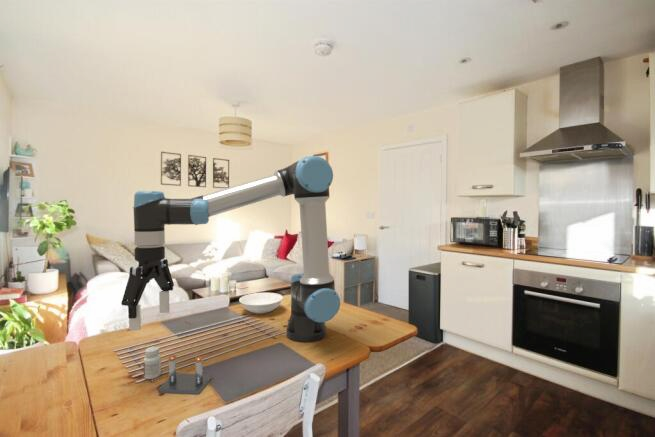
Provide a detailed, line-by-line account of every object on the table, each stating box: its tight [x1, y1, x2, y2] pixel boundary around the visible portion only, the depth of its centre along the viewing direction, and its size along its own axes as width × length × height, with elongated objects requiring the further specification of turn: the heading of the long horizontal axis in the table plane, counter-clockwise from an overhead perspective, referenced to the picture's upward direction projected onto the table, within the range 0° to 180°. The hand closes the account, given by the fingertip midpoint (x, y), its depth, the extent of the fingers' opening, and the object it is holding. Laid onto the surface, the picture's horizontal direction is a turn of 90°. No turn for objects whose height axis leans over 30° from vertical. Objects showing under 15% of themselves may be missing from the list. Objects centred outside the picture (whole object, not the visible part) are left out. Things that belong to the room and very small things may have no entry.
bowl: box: [238, 291, 284, 315], centre depth 148 cm, size 20×20×6 cm
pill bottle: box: [142, 346, 162, 380], centre depth 92 cm, size 4×4×8 cm
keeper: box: [157, 354, 213, 395], centre depth 88 cm, size 11×8×8 cm
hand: (150, 320), depth 92 cm, fingers open, 13 cm apart
